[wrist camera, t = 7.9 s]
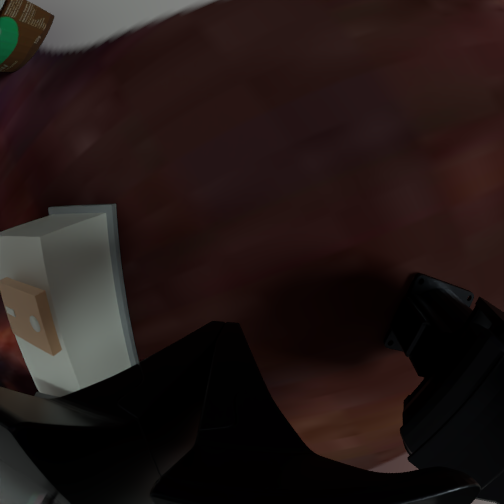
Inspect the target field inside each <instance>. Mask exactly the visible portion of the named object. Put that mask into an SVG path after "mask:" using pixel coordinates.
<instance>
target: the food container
mask: <svg viewBox="0 0 504 504" xmlns="http://www.w3.org/2000/svg"><path fill="white" fill-rule="evenodd" d="M53 19H54V15H52V14H50V13H48V12H47V11H45V10H43V9H41V8H40V7H38V6H36V5H34V4H32V3H30V2H29V1H27V0H0V72H14V71H17V70H18V69H20V68H21V67H23V66H24V65H25V64H26V63H27V62H28V61H29V60H30V59H31V58H32V56H33V55H34V54H35V53H36V51H37V50H38V49H39V47H40V45H41V44H42V42H43V40H44V39H45V37H46V35H47V33H48V31H49V29H50V27H51V25H52V22H53Z"/></svg>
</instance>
